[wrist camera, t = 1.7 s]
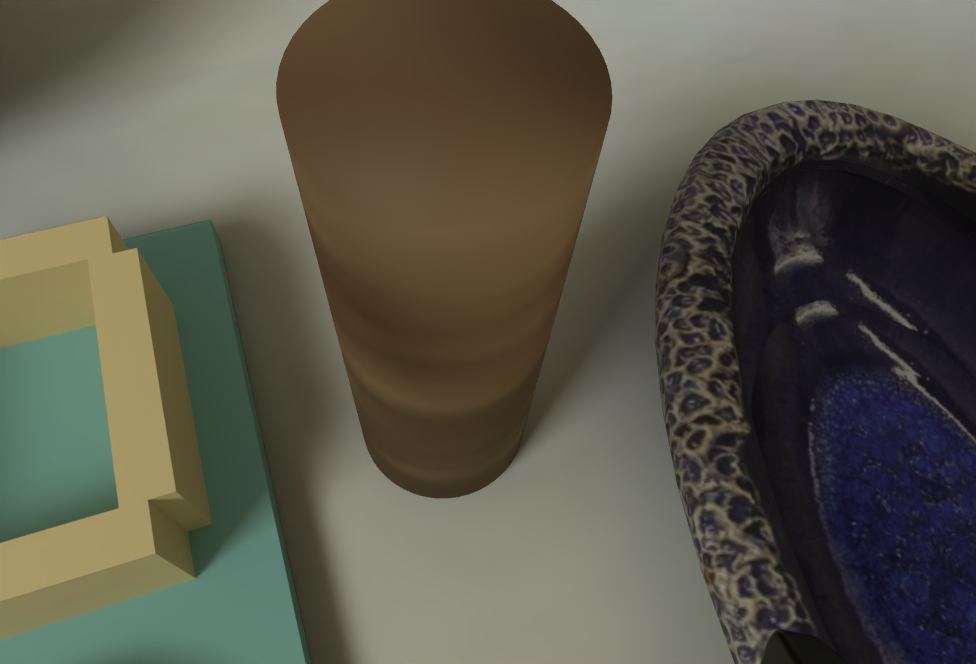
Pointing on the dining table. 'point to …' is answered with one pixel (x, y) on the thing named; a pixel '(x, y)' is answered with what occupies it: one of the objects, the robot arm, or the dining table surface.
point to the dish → (827, 381)
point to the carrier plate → (133, 459)
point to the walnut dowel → (443, 212)
